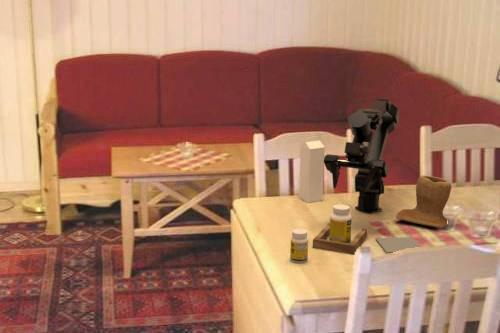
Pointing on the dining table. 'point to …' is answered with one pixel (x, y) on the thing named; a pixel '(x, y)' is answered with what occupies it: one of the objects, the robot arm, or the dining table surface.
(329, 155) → the robot arm
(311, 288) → the dining table surface
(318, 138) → the milk
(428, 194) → the brown boot
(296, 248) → the supplement bottle
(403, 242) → the coaster
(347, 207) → the pill bottle
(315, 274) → the dining table surface
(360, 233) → the open wooden u-frame
